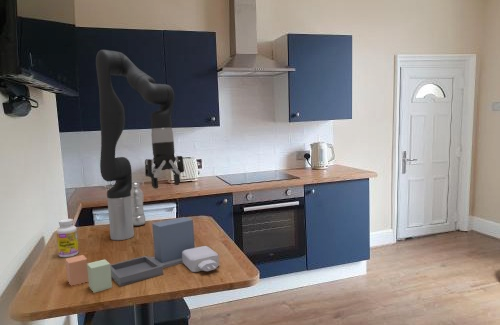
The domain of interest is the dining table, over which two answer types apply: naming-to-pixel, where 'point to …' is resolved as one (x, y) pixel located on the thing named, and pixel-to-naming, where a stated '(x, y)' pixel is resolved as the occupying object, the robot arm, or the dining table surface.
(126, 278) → the tray
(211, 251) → the charger
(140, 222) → the plastic bottle
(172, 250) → the block
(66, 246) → the supplement bottle
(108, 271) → the sage block
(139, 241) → the dining table surface
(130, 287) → the dining table surface
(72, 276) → the terracotta block
